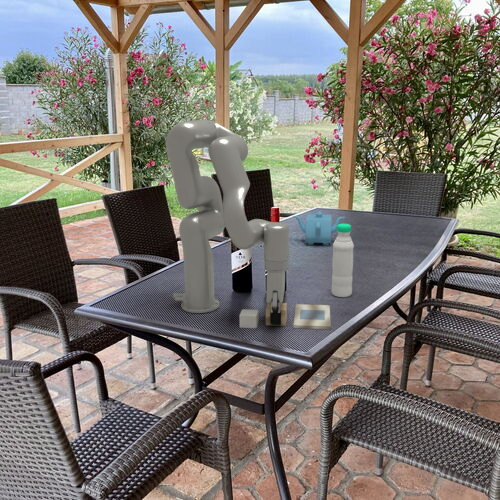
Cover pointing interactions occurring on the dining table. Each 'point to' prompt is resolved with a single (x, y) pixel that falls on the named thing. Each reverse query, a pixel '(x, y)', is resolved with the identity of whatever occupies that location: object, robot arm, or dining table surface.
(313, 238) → the teakettle
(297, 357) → the dining table surface
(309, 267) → the dining table surface
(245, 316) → the grey block
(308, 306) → the board
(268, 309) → the oak block
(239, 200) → the robot arm
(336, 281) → the water bottle
